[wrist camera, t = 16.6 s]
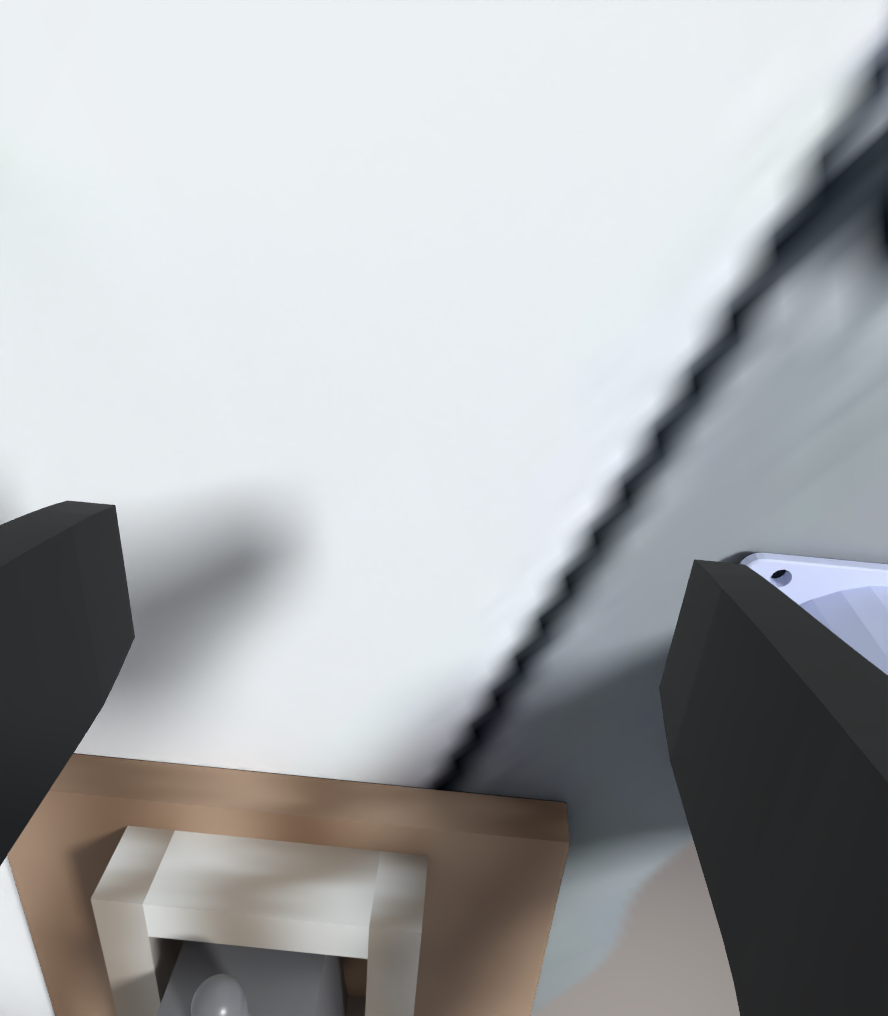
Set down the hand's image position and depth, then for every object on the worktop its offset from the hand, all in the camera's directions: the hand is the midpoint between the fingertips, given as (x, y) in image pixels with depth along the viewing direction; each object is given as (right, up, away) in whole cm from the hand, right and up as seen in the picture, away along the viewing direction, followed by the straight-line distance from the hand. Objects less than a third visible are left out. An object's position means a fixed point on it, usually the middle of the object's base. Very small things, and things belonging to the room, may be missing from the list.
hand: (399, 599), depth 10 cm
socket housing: (-5, -16, +19) cm, 26 cm away
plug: (-5, -12, +16) cm, 21 cm away
